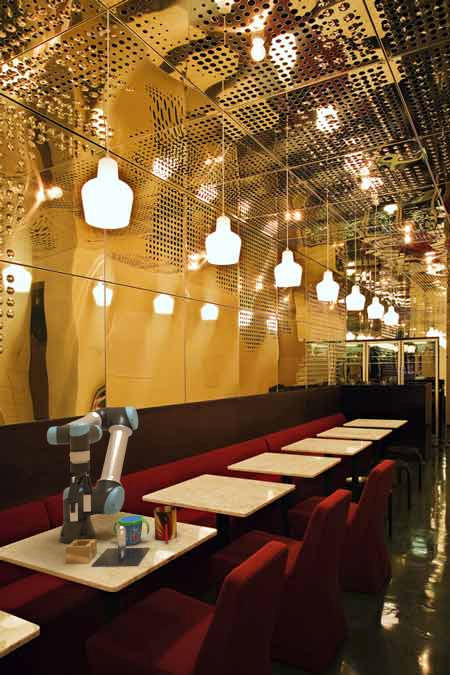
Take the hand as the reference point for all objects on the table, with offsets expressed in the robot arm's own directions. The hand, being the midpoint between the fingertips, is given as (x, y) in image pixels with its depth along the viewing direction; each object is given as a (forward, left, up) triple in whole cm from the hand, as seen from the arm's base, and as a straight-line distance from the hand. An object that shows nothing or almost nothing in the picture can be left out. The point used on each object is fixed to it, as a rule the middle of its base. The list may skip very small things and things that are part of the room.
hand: (80, 516), depth 187 cm
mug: (-23, +30, -17) cm, 41 cm away
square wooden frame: (0, 0, -17) cm, 17 cm away
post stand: (-1, +16, -17) cm, 23 cm away
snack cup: (-18, +15, -17) cm, 29 cm away
